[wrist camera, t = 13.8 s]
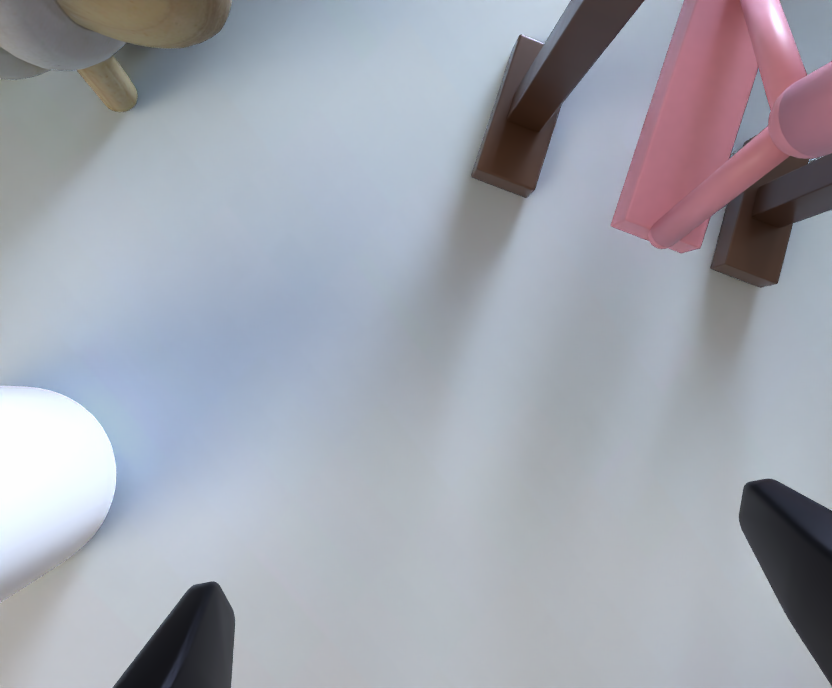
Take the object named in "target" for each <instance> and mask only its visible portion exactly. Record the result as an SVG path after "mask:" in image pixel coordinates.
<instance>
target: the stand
mask: <svg viewBox="0 0 832 688" xmlns="http://www.w3.org/2000/svg"><path fill="white" fill-rule="evenodd" d="M643 2H644V0H571V1H570V3H569V4H568V6H567V8H566V9H565V11H564V13H563V14H562V16H561V17H560V19H559V21H558V22H557V24H556V26H555V27H554V29H553V31H552V32H551V34H550V35H549V37H548V39H547V40H546V42H545V44H544V43H542V42H539V41H537V40H534V39H532V38H530V37H527V36H525V35H522V34H521V35H520V36H519V37H518V39H517V41H516V43H515V45H514V47H513V49H512V52H511V55H510V58H509V61H508V64H507V67H506V71H505V74H504V77H503V80H502V83H501V86H500V89H499V92H498V95H497V98H496V101H495V104H494V107H493V110H492V113H491V116H490V119H489V122H488V125H487V128H486V131H485V134H484V137H483V140H482V144H481V147H480V150H479V153H478V156H477V159H476V162H475V165H474V168H473V171H472V174H471V177H472V178H475V179H478V180H480V181H483V182H485V183H488V184H491V185H493V186H496V187H498V188H501V189H504V190H506V191H509V192H512V193H514V194H517V195H519V196H522V197H525V198H527V197H528V196H529V195H530V194H531V193H532V192H533V191H534V190H535V188H536V184H537V181H538V178H539V175H540V172H541V168H542V165H543V162H544V159H545V156H546V152H547V149H548V146H549V143H550V140H551V136H552V133H553V130H554V127H555V124H556V121H557V117H558V114H559V111H560V108H561V105H562V103H563V102H564V100H565V99H566V98H567V97H568V95H569V94H570V93H571V92H572V90H573V89H574V88H575V87H576V85H577V84H578V83H579V82H580V80H581V79H582V78H583V77H584V75H585V74H586V73H587V72H588V70H589V69H590V68H591V67H592V65H593V64H594V63H595V62H596V60H597V59H598V58H599V57H600V55H601V54H602V53H603V52H604V50H605V49H606V48H607V47H608V45H609V44H610V43H611V42H612V40H613V39H614V38H615V37H616V35H617V34H618V33H619V32H620V30H621V29H622V28H623V27H624V25H625V24H626V23H627V22H628V20H629V19H630V18H631V17H632V15H633V14H634V13H635V12H636V10H637V9H638V8H639V7H640V5H641V4H642V3H643ZM756 136H757V135H756ZM754 137H755V136H754ZM754 137H753V138H754ZM753 138H751V139H749V140H748V141H746V142H745V143H744V145H743V147H744V146H745V145H746V144H747V143H749V142H750V141H751V140H752V139H753ZM808 162H809V159H802V158H796V157H793V156H789V157H788V158H787V159H785V160H784V161H783V162H781V163H780V164H779V165H778V166H776V167H775V168H774V169H772V170H771V171H770V172H768V173H767V174H766V175H764V176H763V177H762V178H761V179H759V180H758V181H757V182H755V183H754V184H753V185H751V186H750V187H749V188H747V189H746V190H745V191H744V192H742V193H741V194H740V195H738V196H737V197H736V198H734V199H733V200H732V201H730V202H729V203H728V204H727V208H726V212H725V215H724V219H723V223H722V227H721V230H720V234H719V238H718V241H717V245H716V249H715V253H714V256H713V260H712V264H711V269H713V270H715V271H718V272H721V273H723V274H726V275H728V276H731V277H734V278H736V279H739V280H742V281H744V282H747V283H749V284H752V285H755V286H757V287H760V288H762V287H766V286H770V285H774V284H777V283H778V280H779V276H780V272H781V268H782V264H783V260H784V257H785V253H786V249H787V245H788V241H789V237H790V233H791V229H792V225H793V223H795V222H798V221H801V220H804V219H806V218H809V217H812V216H815V215H818V214H820V213H823V212H826V211H829V210H832V153H831V154H828V155H825V156H823V157H821V158H819V159H817V160H815V161H813V162H810V163H808Z"/></svg>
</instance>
